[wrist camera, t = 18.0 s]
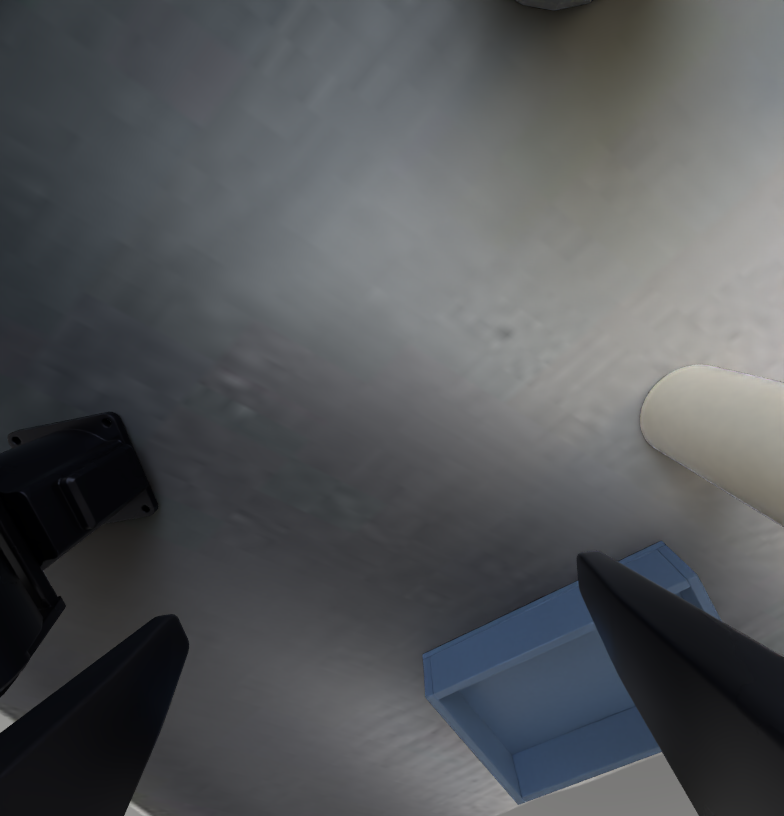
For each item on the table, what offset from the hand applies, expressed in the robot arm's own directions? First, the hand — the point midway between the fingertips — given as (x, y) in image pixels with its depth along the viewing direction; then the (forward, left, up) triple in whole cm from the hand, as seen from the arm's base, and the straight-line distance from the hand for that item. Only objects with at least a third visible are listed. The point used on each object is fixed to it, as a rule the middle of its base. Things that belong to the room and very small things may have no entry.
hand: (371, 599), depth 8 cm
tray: (+9, -20, -13) cm, 25 cm away
